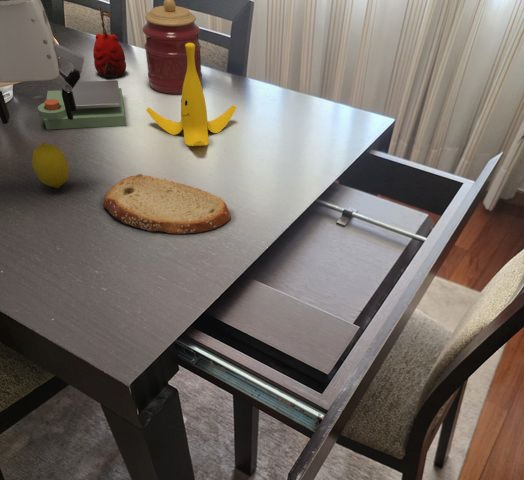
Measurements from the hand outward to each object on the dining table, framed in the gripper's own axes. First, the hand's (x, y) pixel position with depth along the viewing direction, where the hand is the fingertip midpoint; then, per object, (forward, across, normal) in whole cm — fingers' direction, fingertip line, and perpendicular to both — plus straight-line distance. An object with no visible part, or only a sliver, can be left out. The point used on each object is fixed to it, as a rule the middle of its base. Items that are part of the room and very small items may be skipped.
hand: (39, 118), depth 77 cm
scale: (+12, -4, -31) cm, 34 cm away
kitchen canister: (+12, -26, -45) cm, 53 cm away
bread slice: (+12, -18, +10) cm, 24 cm away
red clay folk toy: (+12, -10, -53) cm, 55 cm away
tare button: (+9, +1, -26) cm, 28 cm away
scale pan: (+8, -6, -31) cm, 33 cm away
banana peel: (+12, -28, -19) cm, 37 cm away
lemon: (+12, 0, 0) cm, 12 cm away
